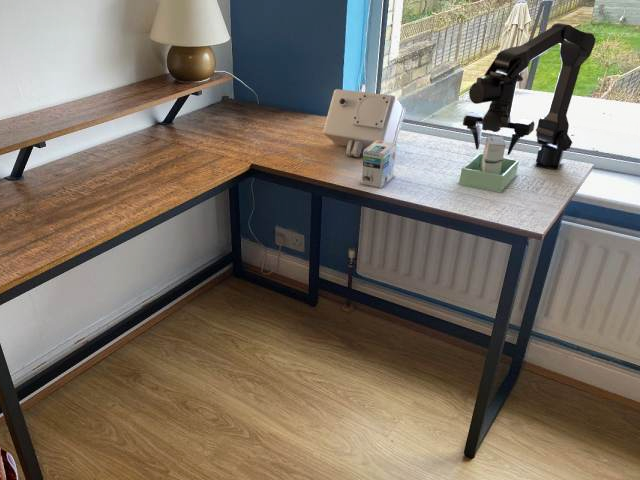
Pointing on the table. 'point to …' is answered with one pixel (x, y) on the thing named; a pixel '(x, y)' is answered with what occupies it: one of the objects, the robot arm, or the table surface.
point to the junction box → (363, 119)
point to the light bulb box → (378, 163)
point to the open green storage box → (488, 174)
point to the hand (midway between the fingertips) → (492, 151)
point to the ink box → (493, 155)
